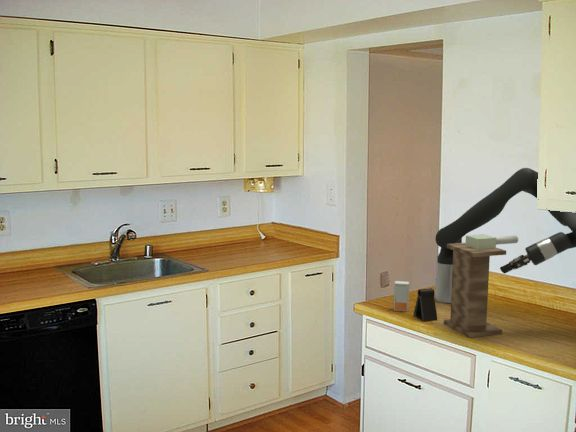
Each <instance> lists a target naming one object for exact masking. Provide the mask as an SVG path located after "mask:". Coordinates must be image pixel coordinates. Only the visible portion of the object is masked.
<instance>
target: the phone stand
mask: <svg viewBox="0 0 576 432" xmlns="http://www.w3.org/2000/svg"><path fill="white" fill-rule="evenodd" d="M436 306H437V305H436V298H435V289H434V288H421V289H418V290H417V298H416V302H415V306H414V311H413V314H412V315H413V317H416V318H417V319H419V320H420V321H422V322H431V321H433V320H434V321H438V314H437V307H436Z"/></svg>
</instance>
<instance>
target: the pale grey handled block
mask: <svg viewBox="0 0 576 432" xmlns="http://www.w3.org/2000/svg"><path fill="white" fill-rule="evenodd" d="M518 242H519V237H518V235H516V234H515V235H501V236H491V235H488V234H483V233H480V234H468V235H467V234H466V235H465V242H464V243H465V246H468V247H471V248H474V249H477V250H480V249H493V248H497V245H509V244H511V245H512V244H517V243H518Z"/></svg>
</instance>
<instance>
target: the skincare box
mask: <svg viewBox="0 0 576 432" xmlns="http://www.w3.org/2000/svg"><path fill="white" fill-rule="evenodd" d="M409 293H410V281H402V280H394V286H393V310H392V311H396V312H398V311H399V312H406V313H407V312H408V310H409V296H410V295H409Z"/></svg>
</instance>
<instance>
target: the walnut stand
mask: <svg viewBox="0 0 576 432" xmlns="http://www.w3.org/2000/svg"><path fill="white" fill-rule="evenodd" d="M465 243H466V242H462V243H454V244H447V248H449V249H452V250H453V268H452V293H451V303H450V318H449V319H443V324H444V325H446V326H448V327H449V328H451V329H454V330H455V331H457V332H459V333H461V334H462V335H464V336H466V337H468V338H479V337H487V336H494V335H496V336H497V335H501V334H503V329H501V328H499V327H497V326H496V325H495V326H494V325H493V324H491V323H488V322H487V319H488V318H487V317H488V315H487V314H488V300H489V299H488V297H489V281H490V280H489V279H490V278H489V276H490V261H491V260H490V259H491V258H490V257H494V256H495V257H496V256H506V255H507V250H505V249H503V248H499V247H496V248H493V249H480V250H477V249H474V248H471V247H468V246H465Z"/></svg>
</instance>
